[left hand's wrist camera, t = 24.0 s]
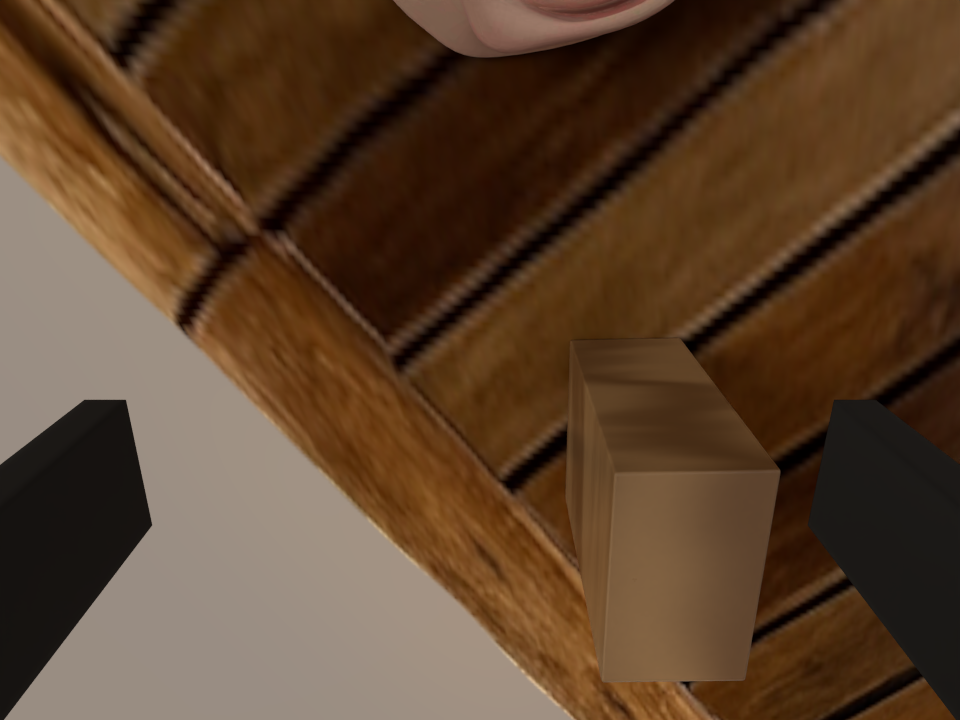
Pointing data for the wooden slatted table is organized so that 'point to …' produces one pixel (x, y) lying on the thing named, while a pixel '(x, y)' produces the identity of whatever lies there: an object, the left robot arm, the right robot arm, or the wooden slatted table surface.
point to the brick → (664, 512)
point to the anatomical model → (523, 22)
